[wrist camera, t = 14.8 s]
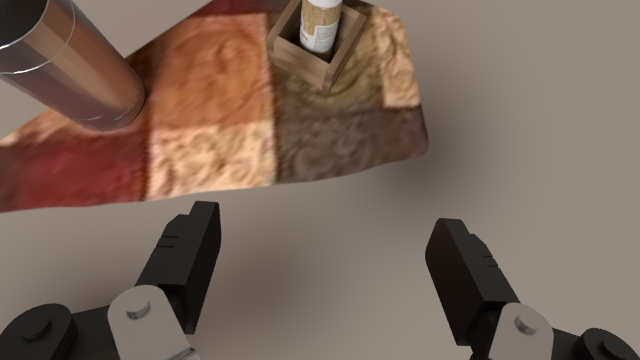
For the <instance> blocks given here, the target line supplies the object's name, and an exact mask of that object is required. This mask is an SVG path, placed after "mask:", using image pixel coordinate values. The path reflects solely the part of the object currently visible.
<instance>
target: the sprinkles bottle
mask: <svg viewBox="0 0 640 360" xmlns="http://www.w3.org/2000/svg"><path fill="white" fill-rule="evenodd" d="M342 1H343V0H303V2H302V11H301V27H300V44H299V48H301V49H303V50H305V51H307V52H308V53H310V54H312V55H314V56H316V57H318V58H319V59H321V60H323V61H325V62H327V61H329V59H330V57H331V54H332V45H333V43H334V39H335V35H336V31H337V26H338V22H339V17H340V10H341V5H342Z"/></svg>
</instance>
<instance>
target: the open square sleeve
mask: <svg viewBox="0 0 640 360" xmlns="http://www.w3.org/2000/svg"><path fill="white" fill-rule="evenodd" d="M302 2H303V0H291V1H290V3H289V4H288V6H287V7H286V9H285V10H284V12H283V13H282V15H281V16H280V18H279V19H278V21H277V23H276V24H275V26H274V27H273V29H272V30H271V32H270V33H269V35H268V36H267V38H266V42H267V51H268V60H269V61H270V62H271V63H273V64H275V65H277V66H279V67H281V68H282V69H284V70H286V71H288V72H290V73H292V74H293V75H295V76H297V77H299V78H301V79H303V80H304V81H306V82H308V83H310V84H312V85H313V86H315V87H317V88H319V89H321V90H323V91H324V92H326V93H329V91H330V90H331V88H332V86H333V85H334V83H335V81H336V79H337V78H338V76H339V74H340V73H341V71H342V69H343V67H344V66H345V64H346V62H347V61H348V59H349V57H350V55H351V54H352V52H353V50H354V49H355V47H356V45H357V43H358V42H359V39H360V36H361V34H362V31H363V28H364V25H365V22H366V19H367V17H366V16H364V15H363V14H361V13H359V12H357V11H355V10H353V9H352V8H350V7H348V6H346V5H344V4H342V5H341V10H340V17H339V22H338V26H337V31H336V35H335V36H337V37H339V38H341V39H342V40H344V41H343V43H342V44H341V46H340V48H339V49H338V51H337V53H336V54H335V56H334V58H333V59H332V61H331V63H330V64H329V63H327V62H325V61H323V60H321V59H319V58H318V57H316V56H314V55H312V54H310V53H308V52H307V51H305V50H303V49H301V48H299V47H297V46H296V45H294V44H292V43H290V41H291V39H292V37H293V36H294V34H295V33H296V31H297V30H298V28H299V26H300V25H301V11H302Z"/></svg>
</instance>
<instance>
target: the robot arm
mask: <svg viewBox="0 0 640 360" xmlns="http://www.w3.org/2000/svg"><path fill="white" fill-rule="evenodd" d="M0 80H2V81H4V82H6V83H7V84H9V85H11V86H13V87H14V88H16V89H18V90H20V91H22V92H23V93H25V94H27V95H29V96H30V97H32V98H34V99H35V100H37V101H39V102H41V103H42V104H44V105H46V106H48V107H49V108H51V109H53V110H55V111H56V112H58V113H60V114H61V115H63V116H65V117H67V118H69V119H70V120H72V121H74V122H76V123H77V124H79V125H81V126H83V127H85V128H87V129H90V130H93V131H101V132H103V131H112V130H115V129H119V128H121V127H123V126H125V125H127V124H128V123H130V122H131V121H132V120H133V119H134V118H135V117H136V116H137V115H138V114H139V112H140V110H141V108H142V106H143V103H144V99H145V90H144V85H143V83H142V80H141V78H140V77H139V76H138V74H137V73H136V72H135V71H134V70H133V68H132V67H131V66H130V65H129V64H128V63H127V62H126V61H125V59H124V58H123V57H122V56H121V55H120V54H119V53H118V51H117V50H116V49H115V48H114V47H113V46H112V45H111V44H110V42H109V41H108V40H107V39H106V38H105V37H104V36H103V35H102V34H101V32H100V31H99V30H98V29H97V28H96V27H95V26H94V24H92V22H91V21H90V20H89V19H88V18H87V17H86V15H85V14H84V13H83V12H82V11H81V10H80V9H79V8H78V6H77V5H76V4H75V3H74V2H73V1H72V0H0ZM220 246H221V224H220V209H219V203H218V202H208V201H196V202H195V203H194V205H193V207H192V209H191V211H190V214H189V215H181V214H179V215H177V216H176V217H175V218H174V219H173V220H171V221H170V222H169V223H168V224H167V226H166V227H165V229H164V231H163V234H162V235H161V238H160V239H159V241H158V243H157V245H156V248H155V249H154V250H153V252H152V254H151V256H150V258H149V260H148V262H147V264H146V265H145V267H144V270H143V271H142V273H141V275H140V277H139V279H138V281H137V283H136V284H135V286H134V287H133V288H130V289H128V290H126V291H125V292H123V293H122V294H120V295H119V296H118V297H117V298H116V299H115V300H114V301H113V302H112V304H110V305H107V306H104V307H100V308H96V309H91V310H87V311H83V312H78V313H73V314H71V313H70V311H69V309H68V308H67V307H66V306H63V305H60V304H44V305H41V306H37V307H34V308H32V309H30V310H28V311H26V312H24V313H22V314H21V315H19V316H18V317H17V318H15V319H14V320H13V321H12V322H11V323H10V324H9V325H8V326H7V327H6V328H5V329H4V331H3V332H2V333H1V335H0V360H201V359H200V357H199V355H198V354H197V352H196V351H195V349H194V348H193V349H192V348H191V347H190V345H189V343H188V341H187V339H186V337H185V335H184V334H192V335H193V334H194V333H195V330H196V327H197V323H198V320H199V317H200V313H201V310H202V307H203V303H204V300H205V297H206V293H207V290H208V287H209V283H210V281H211V277H212V274H213V271H214V267H215V264H216V260H217V258H218V254H219V251H220ZM492 257H493V256H492V254H491V253H490V251H489V249H488V248H487V246H486V244H484V243H483V242H482V241H481V240H480V239H479V238H478V237H477V236H475V234H469V232H468V230H467V228H466V226H465V225H464V223H463V221H462V220H460V219H447V218H439V219H438V220H437V222H436V225H435V226H434V229H433V232H432V234H431V237H430V239H429V242H428V244H427V247H426V251H425V259H426V264H427V267H428V269H429V272H430V275H431V277H432V280H433V283H434V285H435V288H436V291H437V294H438V296H439V299H440V302H441V304H442V307H443V310H444V312H445V315H446V317H447V320H448V323H449V326H450V328H451V331H452V333H453V336H454V339H455V342H456V344H457V345H459V346H471V349H472V352H473V354H472V355H471V357H470V359H469V360H640V358H639V356H638V355H637V354H636V353H635V351H634V350H633V349H632V348H631V347H630V346H629V345H628V344H627V343H626V342H624V341H623V340H622V339H620V338H619V337H617V336H616V335H614V334H612V333H610V332H608V331H606V330H602V329H598V328H590V329H587V330H586V331H585V332H584V333H583V334H582V335H581V336H576V335H573V334H570V333H567V332H564V331H561V330H558V329H555V328H552V327H551V326H550V324H549V323H548V322H547V320H546V319H545V318H544V317H543V316H542V315H541V314H539V313H538V312H537V311H536V310H534V309H532V308H531V307H529V306H526V305H524V304H521V303H520V301H519V300H518V298H517V296H516V294H515V293H514V291H513V289H512V288H511V286H510V284H509V283H508V281H507V279H506V278H505V276H504V274H503V273H502V271H501V269H500V268H498V264H497V263H496V261H495V259H493V258H492Z"/></svg>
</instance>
